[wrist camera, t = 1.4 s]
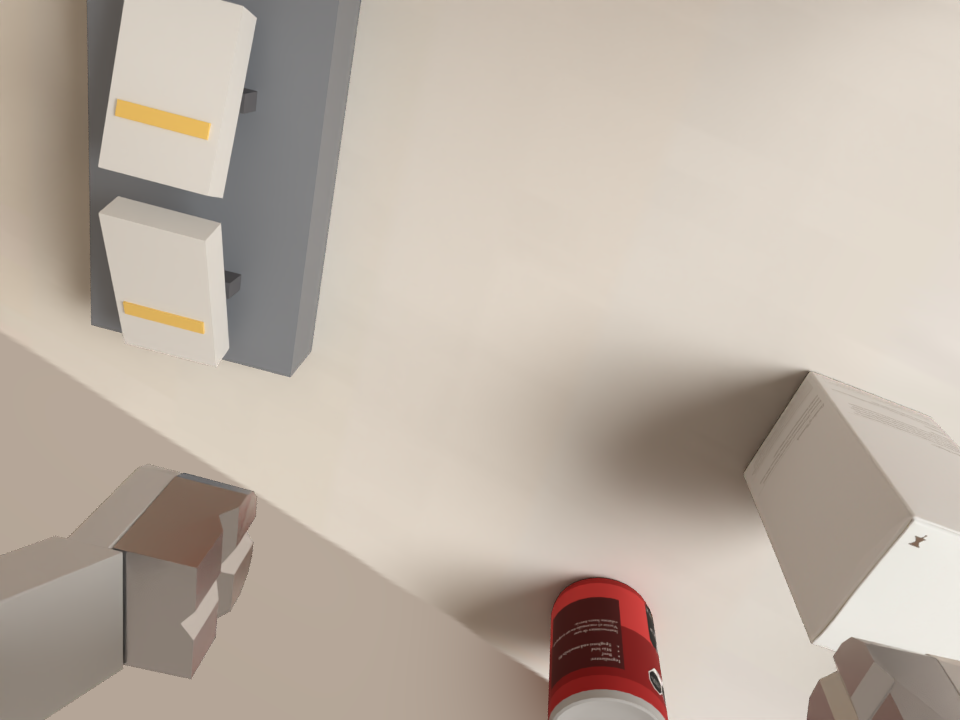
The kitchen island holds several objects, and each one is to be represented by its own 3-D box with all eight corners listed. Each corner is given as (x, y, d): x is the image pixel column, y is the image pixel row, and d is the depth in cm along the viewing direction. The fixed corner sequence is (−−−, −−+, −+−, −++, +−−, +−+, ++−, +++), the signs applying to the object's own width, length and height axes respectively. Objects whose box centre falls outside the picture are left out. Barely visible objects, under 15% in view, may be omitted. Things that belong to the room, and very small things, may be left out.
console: (128, -297, 34) (52, -354, 29) (393, -228, 34) (362, -272, 29) (123, 301, 48) (71, 333, 43) (311, 351, 48) (281, 388, 43)
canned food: (622, 663, 57) (633, 796, 47) (533, 624, 56) (526, 751, 46) (672, 600, 54) (696, 729, 44) (578, 559, 53) (581, 680, 43)
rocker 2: (117, 196, 37) (96, 214, 36) (220, 223, 37) (203, 242, 36) (140, 324, 43) (123, 345, 42) (229, 348, 43) (214, 369, 42)
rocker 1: (147, -11, 35) (126, -26, 33) (256, 17, 35) (242, 5, 33) (118, 170, 36) (96, 166, 35) (222, 198, 36) (206, 195, 35)
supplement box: (737, 475, 48) (803, 646, 35) (808, 366, 45) (912, 512, 31) (857, 520, 49) (967, 706, 35) (937, 417, 45) (1095, 582, 32)
